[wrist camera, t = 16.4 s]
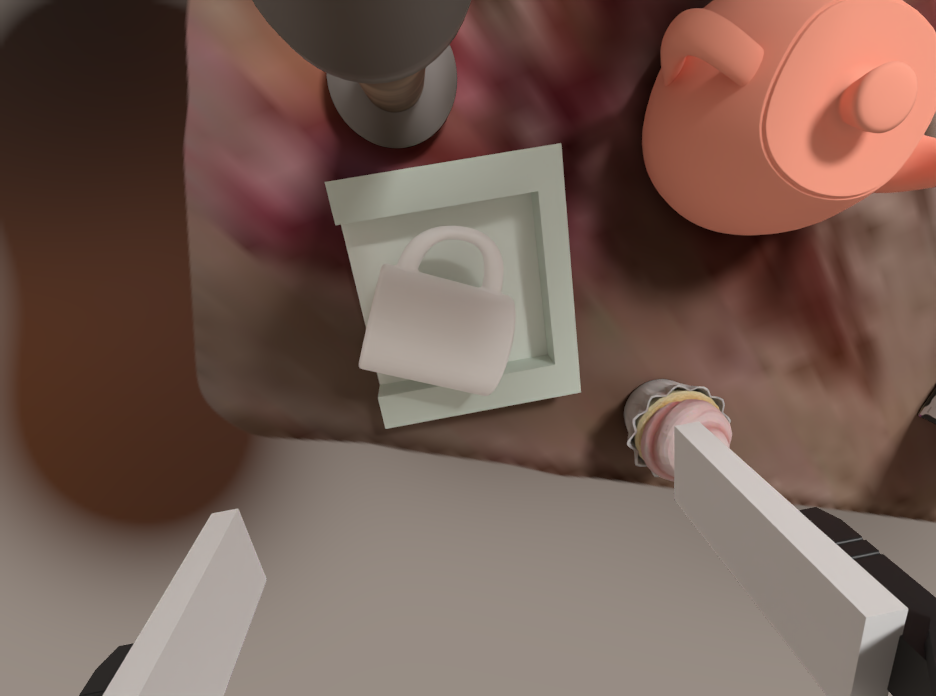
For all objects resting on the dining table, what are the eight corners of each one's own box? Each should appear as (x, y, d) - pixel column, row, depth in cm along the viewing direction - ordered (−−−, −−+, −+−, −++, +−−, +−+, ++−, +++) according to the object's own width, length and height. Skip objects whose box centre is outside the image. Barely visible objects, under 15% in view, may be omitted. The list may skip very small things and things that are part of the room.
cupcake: (591, 437, 47) (635, 503, 38) (632, 351, 44) (690, 399, 35) (672, 459, 49) (733, 527, 40) (717, 379, 46) (793, 431, 37)
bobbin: (444, -1, 33) (494, -315, 12) (464, 138, 37) (532, 87, 15) (315, 18, 33) (128, -270, 12) (347, 157, 36) (246, 133, 15)
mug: (476, 377, 42) (492, 412, 34) (363, 351, 40) (353, 383, 32) (516, 242, 39) (543, 247, 32) (396, 207, 38) (395, 204, 30)
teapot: (924, 78, 39) (1168, 32, 26) (811, 274, 44) (971, 315, 31) (658, -65, 34) (803, -207, 21) (564, 175, 38) (635, 176, 26)
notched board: (549, 145, 37) (561, 143, 34) (569, 377, 44) (581, 392, 41) (332, 181, 37) (324, 182, 34) (387, 411, 44) (385, 428, 41)
